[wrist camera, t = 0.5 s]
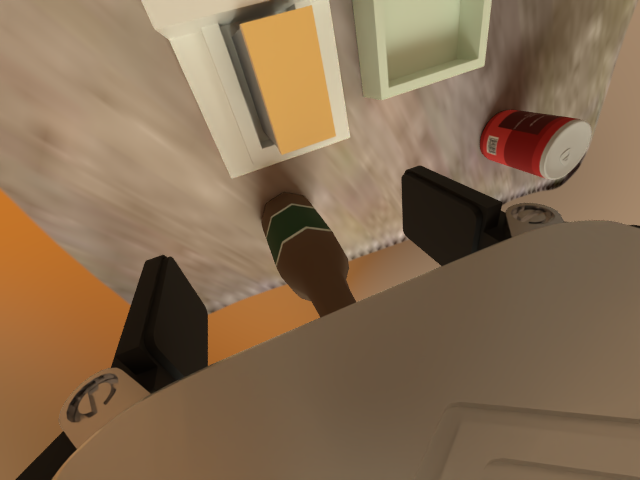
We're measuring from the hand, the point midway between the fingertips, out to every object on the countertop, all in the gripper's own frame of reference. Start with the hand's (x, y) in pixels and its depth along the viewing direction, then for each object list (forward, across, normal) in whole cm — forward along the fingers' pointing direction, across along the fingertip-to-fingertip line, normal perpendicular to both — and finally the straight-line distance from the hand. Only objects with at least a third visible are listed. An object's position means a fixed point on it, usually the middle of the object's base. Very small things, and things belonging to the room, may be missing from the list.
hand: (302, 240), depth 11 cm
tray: (+26, -23, -8) cm, 35 cm away
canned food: (+26, -39, +12) cm, 49 cm away
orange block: (+25, -5, -4) cm, 26 cm away
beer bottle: (+26, -2, +13) cm, 29 cm away
